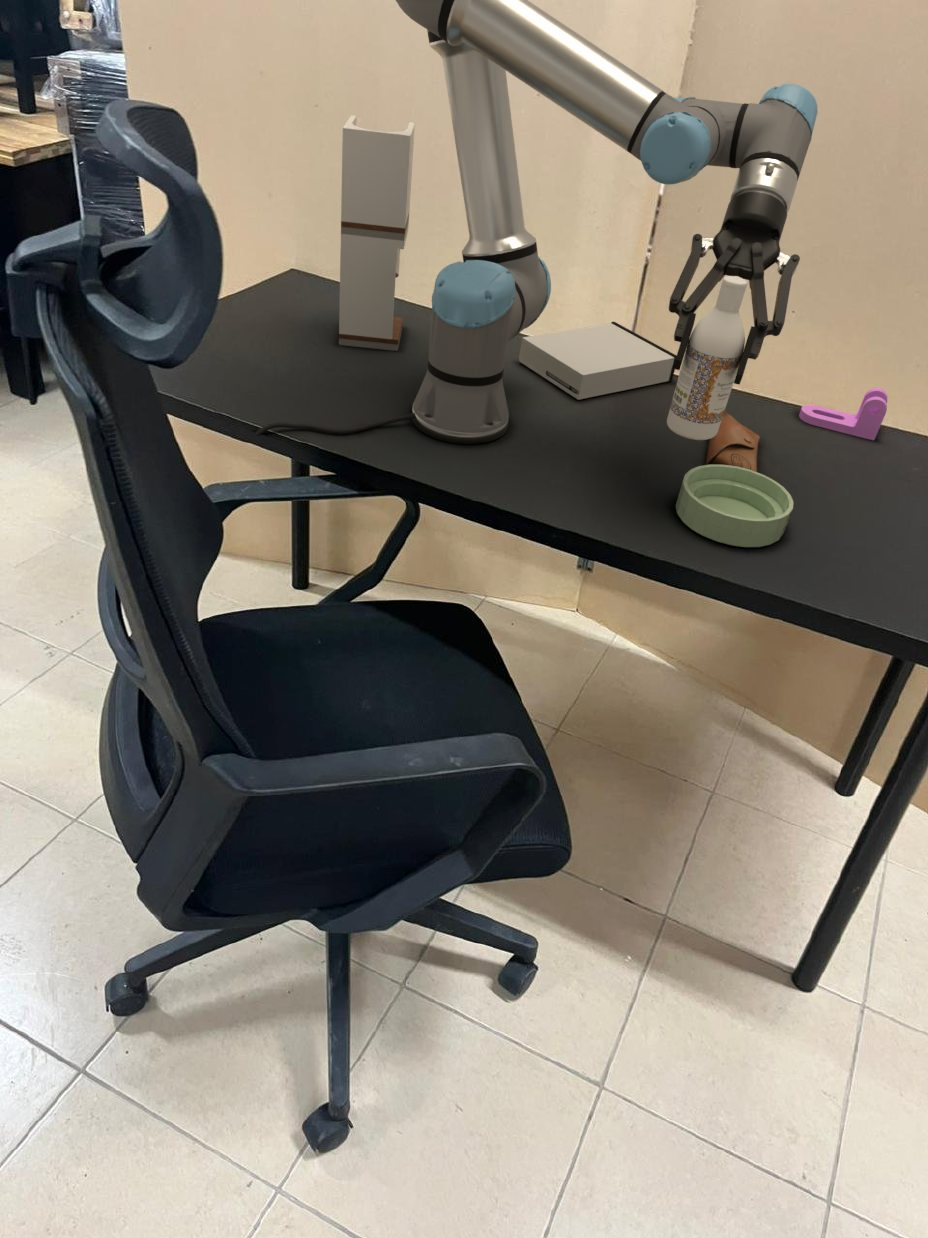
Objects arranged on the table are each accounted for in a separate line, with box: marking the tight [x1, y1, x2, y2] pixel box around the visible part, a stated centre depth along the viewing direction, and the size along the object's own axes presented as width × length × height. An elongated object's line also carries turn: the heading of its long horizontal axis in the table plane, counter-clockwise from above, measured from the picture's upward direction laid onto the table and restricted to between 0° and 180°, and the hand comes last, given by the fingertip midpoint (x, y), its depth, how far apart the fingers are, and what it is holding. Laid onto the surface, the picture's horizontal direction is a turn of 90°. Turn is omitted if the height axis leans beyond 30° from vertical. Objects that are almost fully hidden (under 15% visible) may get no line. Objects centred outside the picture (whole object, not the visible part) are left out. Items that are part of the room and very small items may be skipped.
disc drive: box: [518, 321, 677, 401], centre depth 163 cm, size 18×22×5 cm
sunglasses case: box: [705, 410, 761, 473], centre depth 142 cm, size 18×7×7 cm, turn 165°
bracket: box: [798, 387, 888, 441], centre depth 155 cm, size 13×6×7 cm, turn 68°
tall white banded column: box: [338, 114, 416, 352], centre depth 156 cm, size 11×11×35 cm
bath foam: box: [666, 275, 748, 441], centre depth 115 cm, size 7×7×20 cm
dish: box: [675, 464, 795, 548], centre depth 126 cm, size 15×15×4 cm
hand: (707, 371), depth 112 cm, fingers closed on bath foam, 7 cm apart
